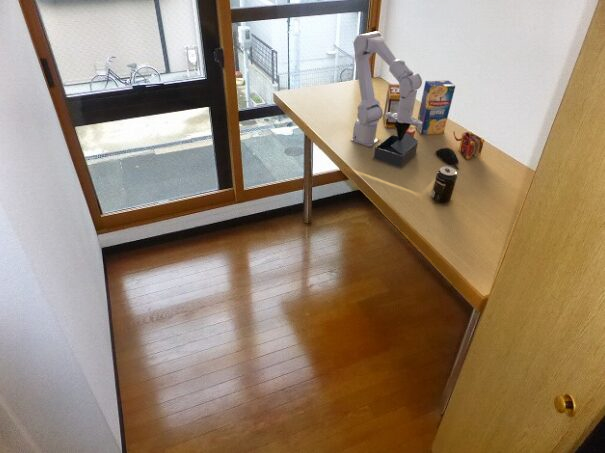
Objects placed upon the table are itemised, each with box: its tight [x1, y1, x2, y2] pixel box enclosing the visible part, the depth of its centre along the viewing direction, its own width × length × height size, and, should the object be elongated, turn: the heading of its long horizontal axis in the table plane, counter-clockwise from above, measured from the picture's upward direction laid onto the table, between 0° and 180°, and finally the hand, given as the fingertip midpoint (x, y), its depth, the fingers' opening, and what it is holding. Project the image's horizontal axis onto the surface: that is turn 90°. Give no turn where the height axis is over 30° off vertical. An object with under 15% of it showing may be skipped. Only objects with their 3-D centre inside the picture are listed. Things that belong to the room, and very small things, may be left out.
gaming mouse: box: [435, 147, 459, 170], centre depth 175 cm, size 6×15×4 cm, turn 15°
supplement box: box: [383, 83, 401, 129], centre depth 200 cm, size 10×15×16 cm
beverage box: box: [415, 80, 456, 135], centre depth 191 cm, size 7×11×22 cm, turn 98°
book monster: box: [452, 131, 485, 160], centre depth 178 cm, size 11×9×12 cm
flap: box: [391, 133, 419, 155], centre depth 171 cm, size 15×6×1 cm, turn 145°
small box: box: [405, 127, 416, 138], centre depth 186 cm, size 5×4×6 cm
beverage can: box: [430, 166, 458, 204], centre depth 149 cm, size 7×7×12 cm
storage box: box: [373, 134, 419, 168], centre depth 176 cm, size 15×12×6 cm
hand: (400, 139), depth 172 cm, fingers closed
